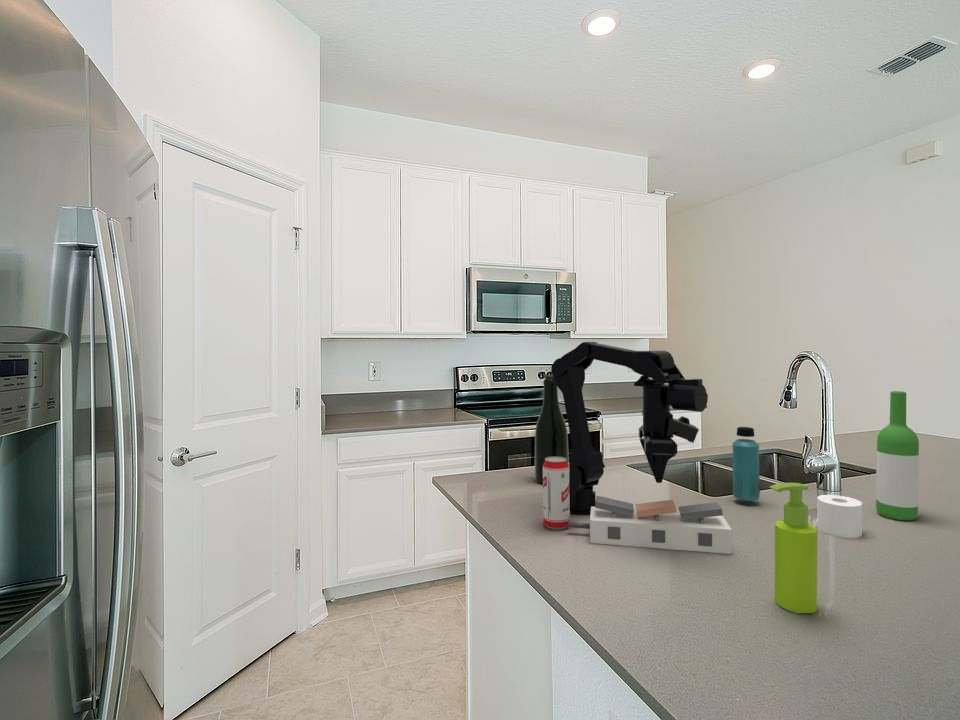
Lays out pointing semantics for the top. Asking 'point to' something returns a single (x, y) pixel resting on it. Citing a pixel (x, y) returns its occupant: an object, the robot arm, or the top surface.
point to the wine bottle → (897, 465)
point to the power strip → (659, 531)
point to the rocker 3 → (700, 511)
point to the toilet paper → (839, 516)
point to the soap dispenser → (795, 554)
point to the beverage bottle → (746, 466)
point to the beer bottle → (550, 429)
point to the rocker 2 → (655, 508)
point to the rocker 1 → (614, 506)
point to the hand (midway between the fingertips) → (656, 476)
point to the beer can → (556, 493)
